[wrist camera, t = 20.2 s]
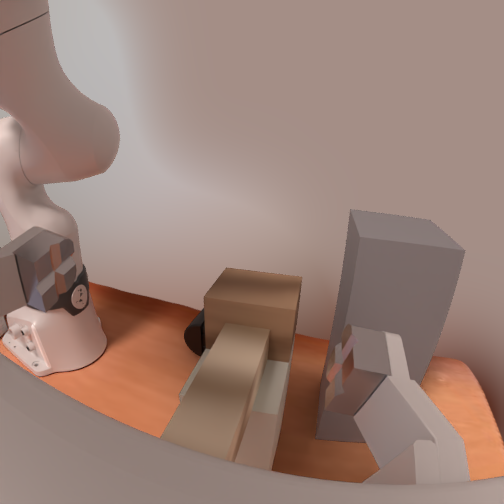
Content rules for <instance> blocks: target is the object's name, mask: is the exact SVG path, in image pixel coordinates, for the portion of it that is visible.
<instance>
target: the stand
mask: <svg viewBox="0 0 504 504" xmlns="http://www.w3.org/2000/svg"><path fill="white" fill-rule="evenodd" d="M295 331H296V330H295ZM294 339H295V335H294ZM293 346H294V340H293V345H292V350H291V355H290V360H289V363H287V362H280V361H273V360H267V363H266V366H265V369H264V373H263V376H262V379H261V382H260V386H259V389H258V392H257V395H256V398H255V402H254V405H253V408H252V411H251V414H250V417H249V420H248V423H247V426H246V429H245V432H244V435H243V438H242V441H241V444H240V447H239V450H238V453H237V456H236V459H235V462H236V463H240V464H244V465H248V466H252V467H256V468H261V469H265V470H270V471H271V470H272V466H273V461H274V457H275V453H276V448H277V444H278V440H279V435H280V430H281V425H282V419H283V413H284V407H285V401H286V394H287V388H288V381H289V374H290V368H291V361H292V354H293ZM209 351H210V349H205V351H204V352H203V354H202V356H201V358H200V359H199V361H198V363H197V364H196V366H195V368H194V370H193V371H192V373H191V375H190V376H189V378H188V380H187V382H186V383H185V385H184V387H183V388H182V390H181V392H180V393H179V398H180V402H181V401H182V399H183V397H184V395H185V394H186V392H187V390H188V388H189V387H190V385H191V383H192V381H193V380H194V378H195V376H196V374H197V373H198V371H199V369H200V367H201V365H202V364H203V362H204V360H205V358H206V357H207V355H208V353H209Z"/></svg>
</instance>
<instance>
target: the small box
mask: <svg viewBox="0 0 504 504" xmlns="http://www.w3.org/2000/svg"><path fill="white" fill-rule="evenodd" d="M7 330H8V327H7V325H6V322H5V319H4V316H2V317H0V337H1V336H2V335H3V334H4V333H5V332H6V331H7Z"/></svg>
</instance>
